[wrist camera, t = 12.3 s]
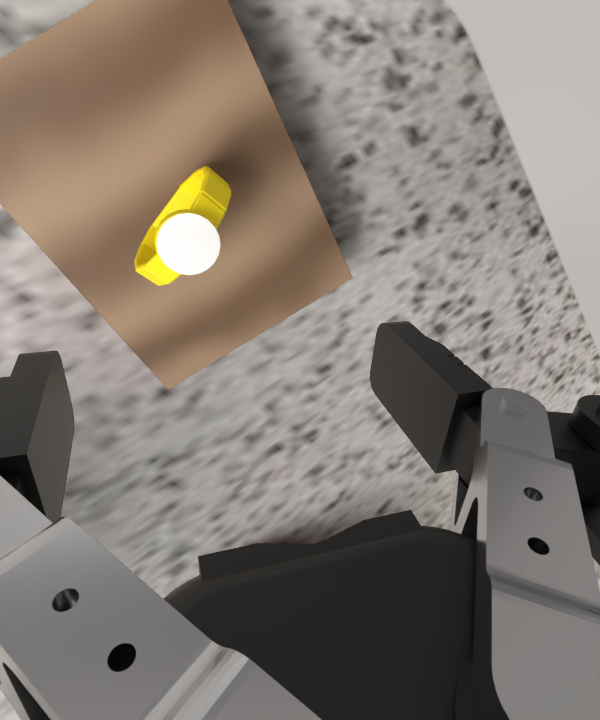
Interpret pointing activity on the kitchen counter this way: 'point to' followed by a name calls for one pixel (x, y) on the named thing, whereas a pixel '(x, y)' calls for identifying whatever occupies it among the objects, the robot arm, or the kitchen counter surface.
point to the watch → (185, 230)
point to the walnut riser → (161, 174)
